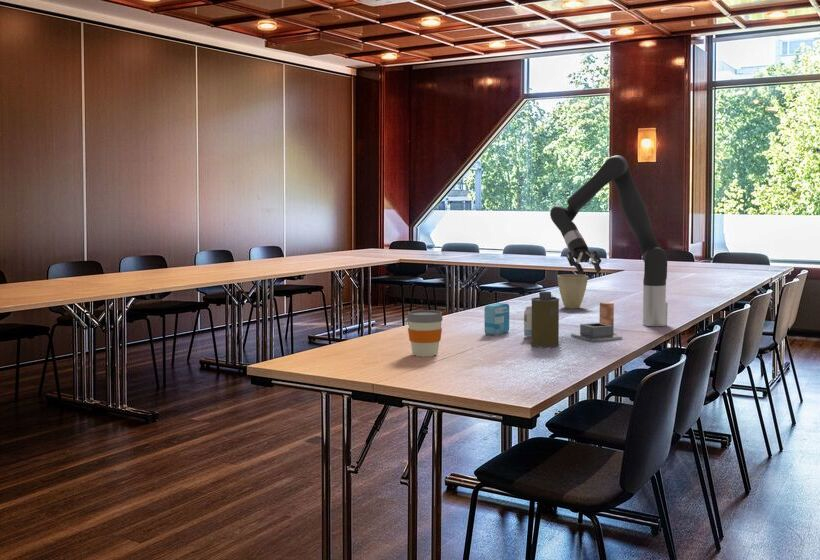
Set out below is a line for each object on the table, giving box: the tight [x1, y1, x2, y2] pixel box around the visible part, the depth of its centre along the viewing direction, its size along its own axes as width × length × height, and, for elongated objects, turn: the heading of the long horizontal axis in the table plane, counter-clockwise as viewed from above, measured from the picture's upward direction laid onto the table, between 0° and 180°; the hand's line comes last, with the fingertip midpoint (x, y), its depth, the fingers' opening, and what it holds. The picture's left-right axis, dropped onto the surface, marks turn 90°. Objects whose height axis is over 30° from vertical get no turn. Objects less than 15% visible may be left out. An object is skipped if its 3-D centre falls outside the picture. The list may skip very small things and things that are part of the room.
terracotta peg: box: [599, 301, 615, 334], centre depth 339 cm, size 4×4×12 cm
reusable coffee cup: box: [406, 309, 443, 357], centre depth 296 cm, size 13×13×15 cm
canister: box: [530, 291, 560, 348], centre depth 312 cm, size 11×10×20 cm
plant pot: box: [557, 273, 589, 310], centre depth 414 cm, size 15×15×16 cm
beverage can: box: [523, 306, 532, 340], centre depth 329 cm, size 7×7×12 cm
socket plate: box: [570, 322, 623, 343], centre depth 327 cm, size 14×14×5 cm
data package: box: [483, 302, 510, 336], centre depth 340 cm, size 12×4×12 cm, turn 142°
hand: (590, 271), depth 348 cm, fingers open, 8 cm apart
